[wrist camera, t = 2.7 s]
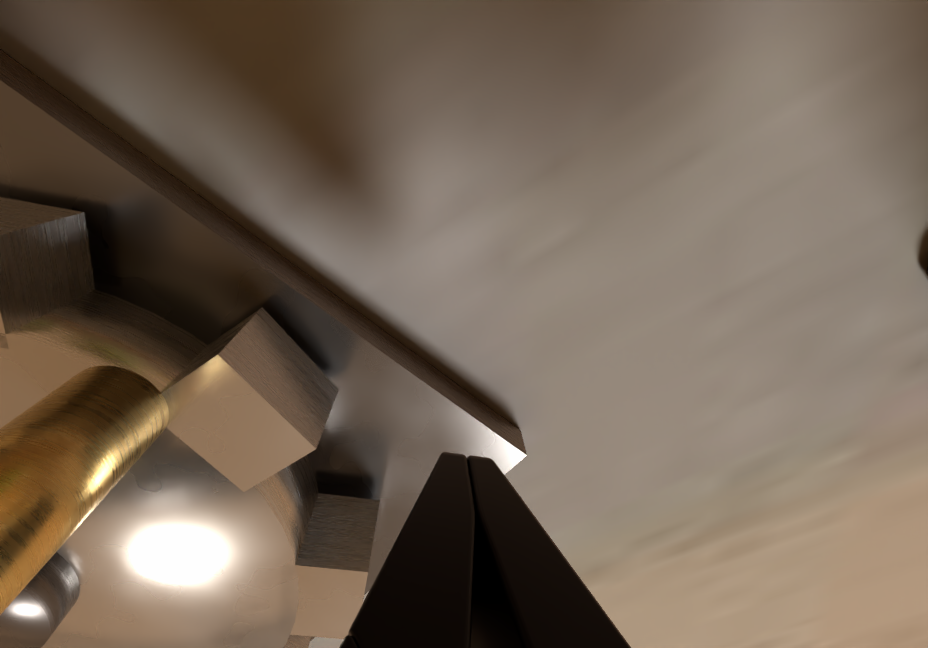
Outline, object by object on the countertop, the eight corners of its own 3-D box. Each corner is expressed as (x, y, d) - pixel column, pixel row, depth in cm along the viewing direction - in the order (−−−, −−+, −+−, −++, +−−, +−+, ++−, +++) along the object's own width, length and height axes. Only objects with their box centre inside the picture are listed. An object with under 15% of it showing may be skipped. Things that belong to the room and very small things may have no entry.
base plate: (520, 430, 13) (526, 455, 12) (226, 691, 17) (214, 723, 16) (-150, -61, 8) (-231, -85, 7) (-312, 492, 12) (-372, 522, 11)
